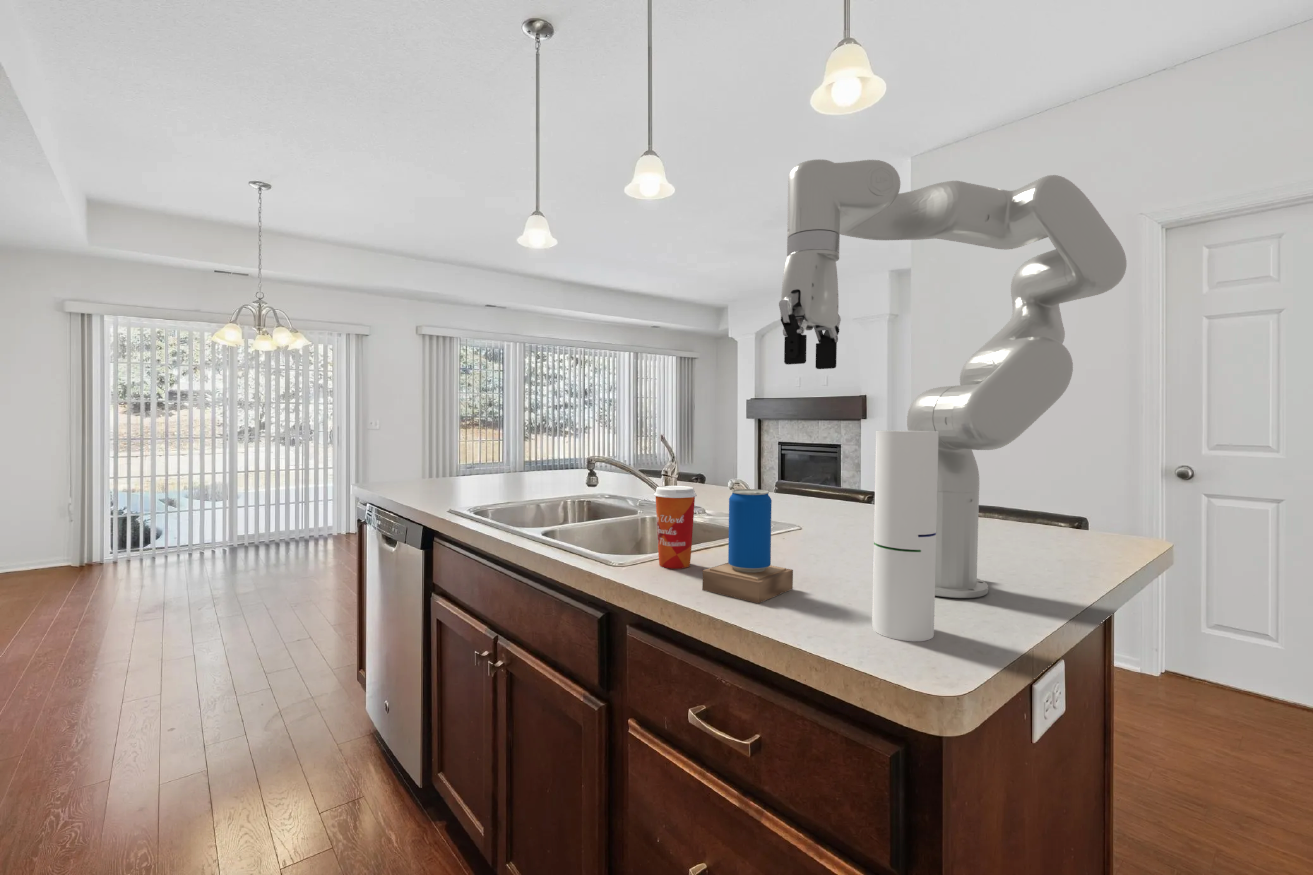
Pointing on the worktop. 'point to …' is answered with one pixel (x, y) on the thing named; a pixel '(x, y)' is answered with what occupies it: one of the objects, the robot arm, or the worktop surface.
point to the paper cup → (675, 525)
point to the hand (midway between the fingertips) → (811, 366)
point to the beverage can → (749, 530)
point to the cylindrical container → (905, 534)
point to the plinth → (748, 582)
